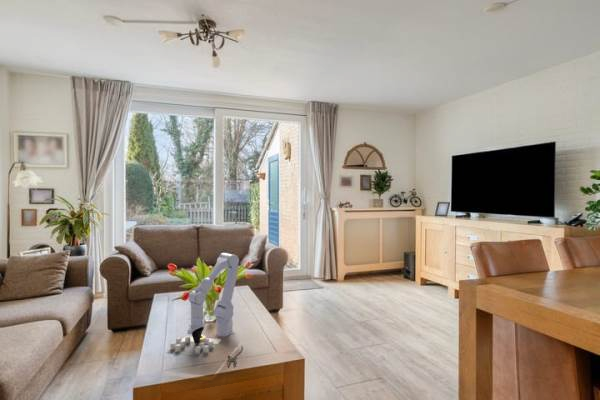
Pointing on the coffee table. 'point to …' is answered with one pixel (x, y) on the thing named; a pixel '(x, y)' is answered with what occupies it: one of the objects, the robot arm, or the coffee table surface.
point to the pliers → (233, 359)
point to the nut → (202, 338)
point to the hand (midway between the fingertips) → (196, 342)
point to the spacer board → (193, 346)
